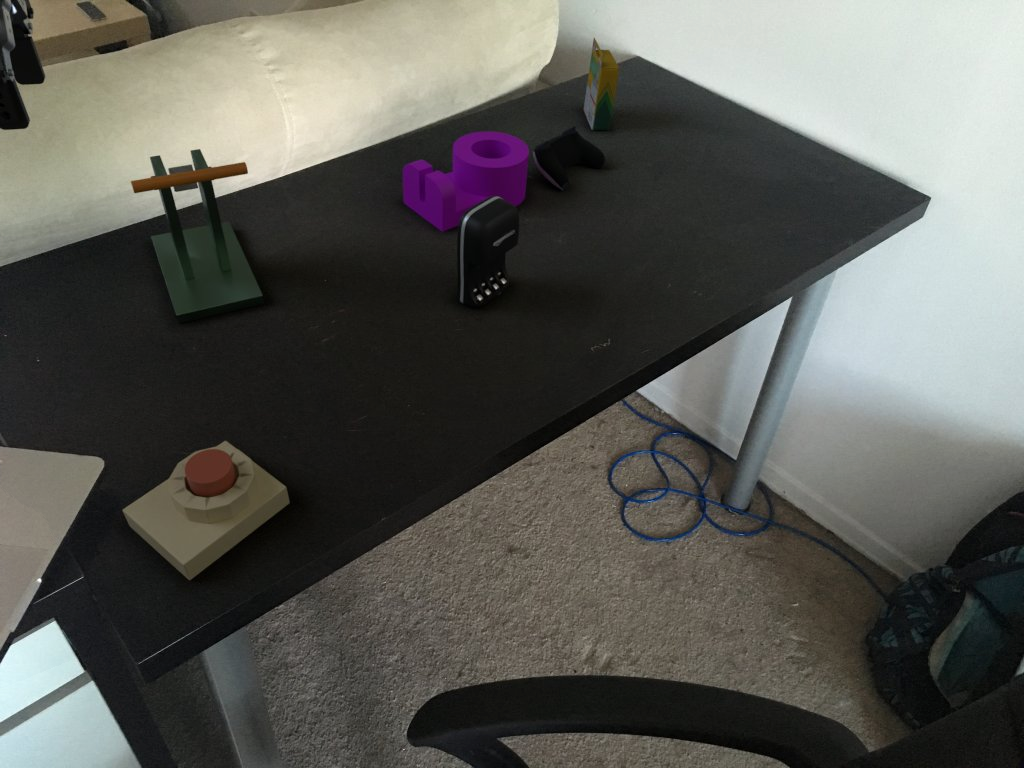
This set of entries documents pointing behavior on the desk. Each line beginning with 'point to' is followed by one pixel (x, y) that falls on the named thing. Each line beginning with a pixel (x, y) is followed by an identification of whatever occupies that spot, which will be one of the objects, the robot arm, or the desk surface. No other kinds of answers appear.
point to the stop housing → (205, 513)
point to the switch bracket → (202, 258)
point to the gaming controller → (565, 156)
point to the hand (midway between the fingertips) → (24, 104)
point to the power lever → (188, 177)
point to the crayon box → (600, 88)
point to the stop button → (210, 472)
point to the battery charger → (485, 250)
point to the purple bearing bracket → (468, 178)
